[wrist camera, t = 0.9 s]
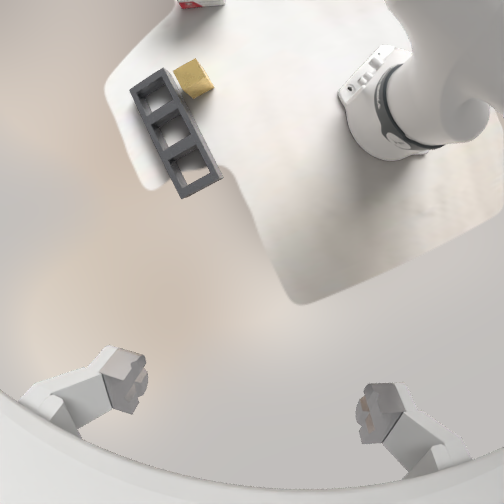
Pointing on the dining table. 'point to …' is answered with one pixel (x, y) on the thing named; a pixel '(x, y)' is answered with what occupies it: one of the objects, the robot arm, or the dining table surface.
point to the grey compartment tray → (183, 146)
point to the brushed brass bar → (193, 79)
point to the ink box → (199, 3)
